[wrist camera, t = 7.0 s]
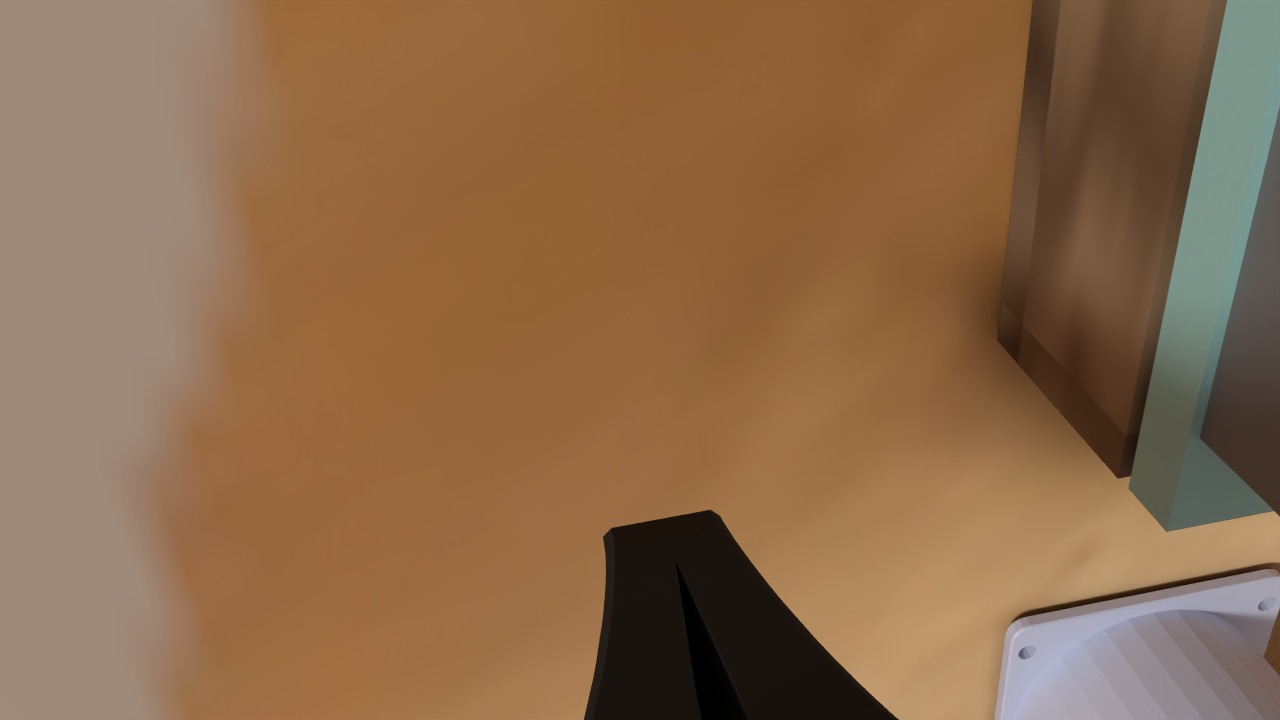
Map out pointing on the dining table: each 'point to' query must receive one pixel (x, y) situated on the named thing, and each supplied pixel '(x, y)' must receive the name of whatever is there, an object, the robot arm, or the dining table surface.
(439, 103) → the dining table surface
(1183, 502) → the lid
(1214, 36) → the crate
